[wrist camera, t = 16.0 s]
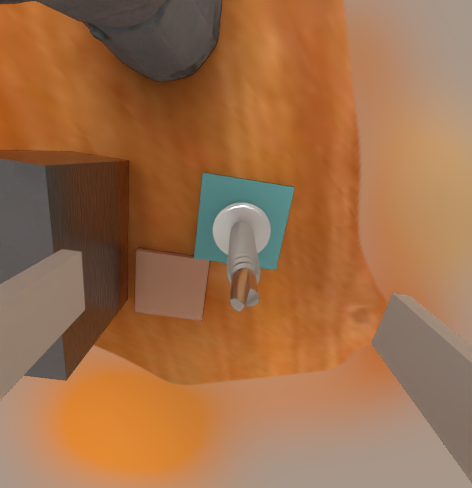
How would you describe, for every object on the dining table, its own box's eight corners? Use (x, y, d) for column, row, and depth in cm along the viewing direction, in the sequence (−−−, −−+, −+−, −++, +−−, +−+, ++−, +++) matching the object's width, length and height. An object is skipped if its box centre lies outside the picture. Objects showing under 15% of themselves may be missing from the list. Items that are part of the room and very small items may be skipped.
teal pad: (194, 256, 25) (193, 258, 24) (203, 172, 22) (202, 172, 21) (274, 267, 25) (275, 270, 24) (293, 186, 22) (294, 187, 22)
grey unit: (75, 292, 26) (-17, 370, 17) (64, 150, 21) (-72, 147, 12) (127, 299, 26) (66, 380, 17) (128, 160, 22) (44, 165, 12)
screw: (276, 209, 22) (256, 256, 24) (224, 190, 22) (207, 239, 23) (322, 275, 10) (275, 363, 12) (208, 236, 10) (174, 333, 11)
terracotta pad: (137, 308, 27) (134, 312, 26) (138, 248, 24) (136, 250, 24) (202, 317, 27) (201, 320, 26) (210, 258, 25) (209, 260, 24)
